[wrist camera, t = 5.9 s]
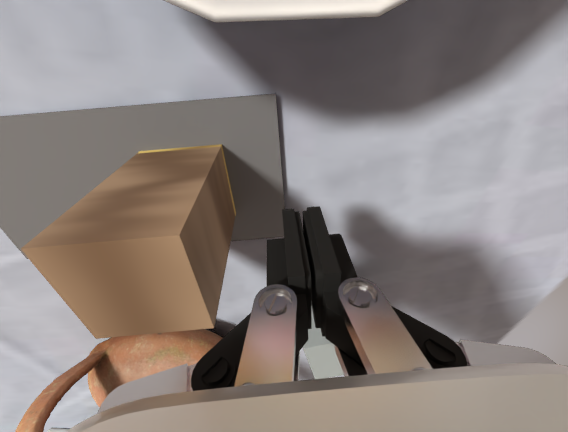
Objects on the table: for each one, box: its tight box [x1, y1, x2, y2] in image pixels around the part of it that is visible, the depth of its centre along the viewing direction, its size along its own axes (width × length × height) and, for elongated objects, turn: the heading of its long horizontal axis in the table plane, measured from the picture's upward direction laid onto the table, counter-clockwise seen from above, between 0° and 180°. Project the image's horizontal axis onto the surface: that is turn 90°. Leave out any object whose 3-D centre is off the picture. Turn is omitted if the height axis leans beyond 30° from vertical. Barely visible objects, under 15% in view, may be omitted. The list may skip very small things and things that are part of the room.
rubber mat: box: [0, 94, 285, 259], centre depth 17 cm, size 20×10×1 cm, turn 94°
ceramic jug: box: [15, 329, 223, 432], centre depth 22 cm, size 18×14×14 cm
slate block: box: [303, 305, 344, 379], centre depth 21 cm, size 4×4×7 cm
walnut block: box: [21, 144, 236, 339], centre depth 13 cm, size 5×5×9 cm
